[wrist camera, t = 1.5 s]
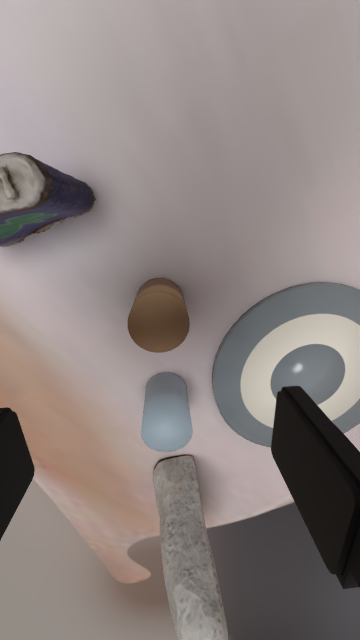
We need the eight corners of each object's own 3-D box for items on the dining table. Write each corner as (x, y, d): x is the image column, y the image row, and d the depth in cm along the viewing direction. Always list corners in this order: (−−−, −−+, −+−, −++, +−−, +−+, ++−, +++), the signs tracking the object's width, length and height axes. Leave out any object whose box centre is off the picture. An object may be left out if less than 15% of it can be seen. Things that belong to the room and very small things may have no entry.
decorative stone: (207, 508, 34) (238, 703, 20) (164, 515, 34) (165, 715, 20) (198, 450, 30) (229, 643, 16) (150, 458, 30) (139, 658, 16)
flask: (2, 251, 21) (-148, 272, 11) (-21, 215, 20) (-210, 203, 10) (101, 208, 20) (41, 189, 10) (84, 169, 19) (-3, 105, 9)
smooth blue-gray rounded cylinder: (144, 373, 26) (138, 414, 20) (185, 370, 26) (191, 410, 20) (147, 407, 27) (143, 454, 22) (187, 404, 28) (193, 449, 22)
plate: (212, 288, 23) (214, 290, 22) (417, 276, 24) (428, 279, 23) (211, 448, 30) (213, 456, 29) (369, 435, 31) (375, 442, 30)
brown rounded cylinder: (133, 279, 22) (123, 296, 17) (182, 276, 22) (188, 293, 17) (138, 324, 24) (131, 354, 18) (183, 321, 24) (190, 350, 18)
